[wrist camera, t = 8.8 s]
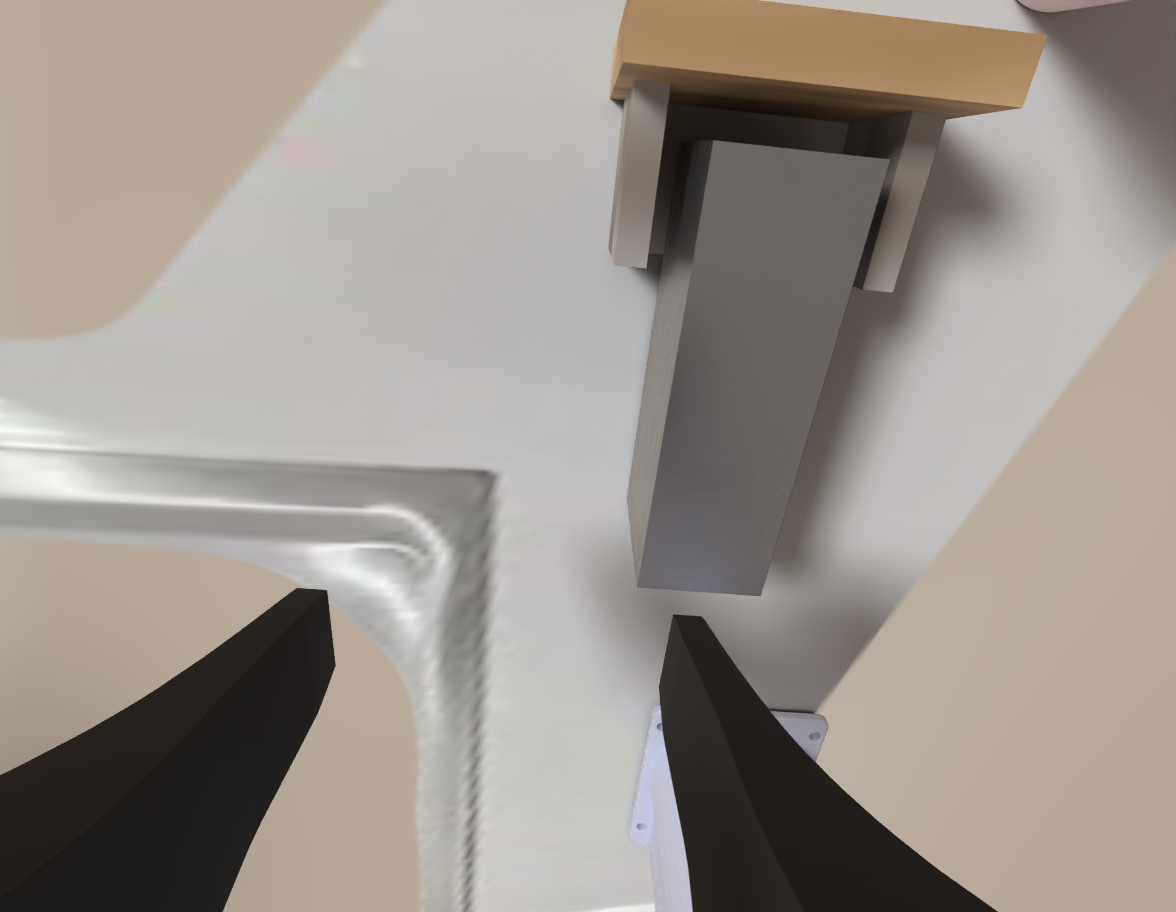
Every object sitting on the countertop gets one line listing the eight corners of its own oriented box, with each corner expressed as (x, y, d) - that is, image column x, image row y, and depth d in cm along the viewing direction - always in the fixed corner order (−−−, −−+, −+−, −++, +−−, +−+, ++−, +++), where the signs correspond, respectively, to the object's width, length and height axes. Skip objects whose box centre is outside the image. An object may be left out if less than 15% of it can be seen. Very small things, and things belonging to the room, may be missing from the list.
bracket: (845, 271, 19) (951, 309, 14) (595, 246, 19) (601, 275, 13) (897, 80, 17) (1047, 35, 11) (614, 48, 16) (630, -15, 11)
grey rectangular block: (680, 140, 17) (713, 139, 12) (811, 154, 17) (890, 159, 13) (627, 499, 22) (636, 587, 18) (726, 507, 23) (760, 596, 18)
